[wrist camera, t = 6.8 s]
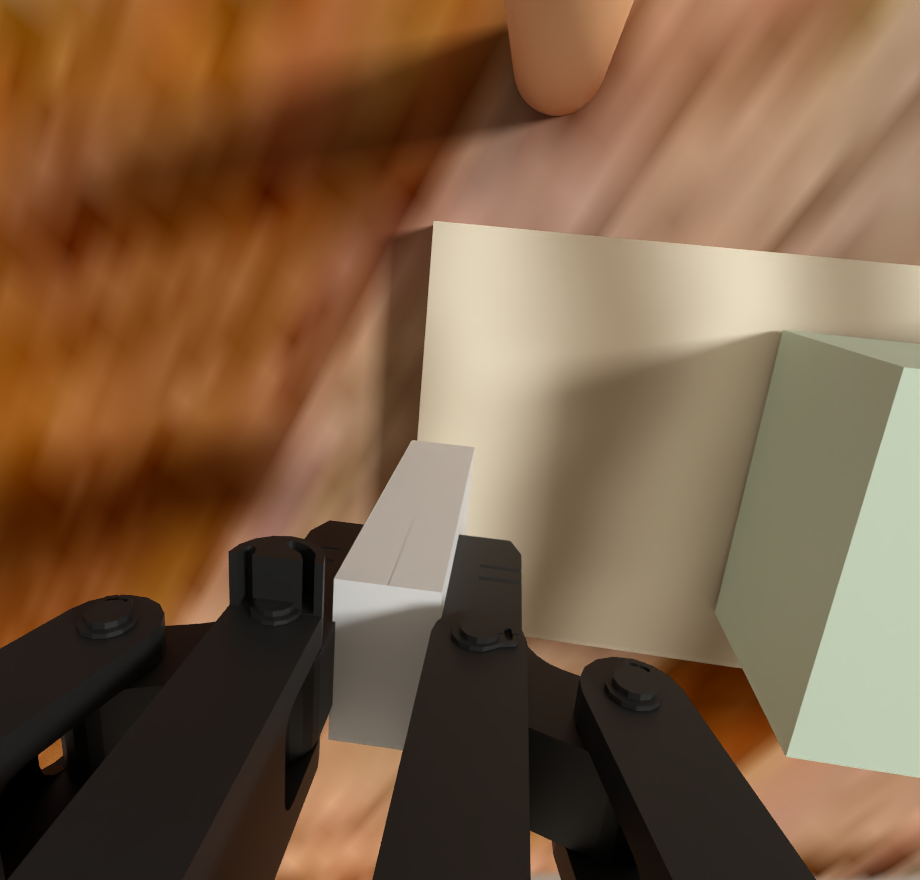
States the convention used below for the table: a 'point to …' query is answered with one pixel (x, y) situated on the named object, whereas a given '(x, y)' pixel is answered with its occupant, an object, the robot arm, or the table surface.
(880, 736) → the block
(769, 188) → the table surface
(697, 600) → the beige l-shaped bracket
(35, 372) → the table surface
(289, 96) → the table surface
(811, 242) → the table surface
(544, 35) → the dowel
